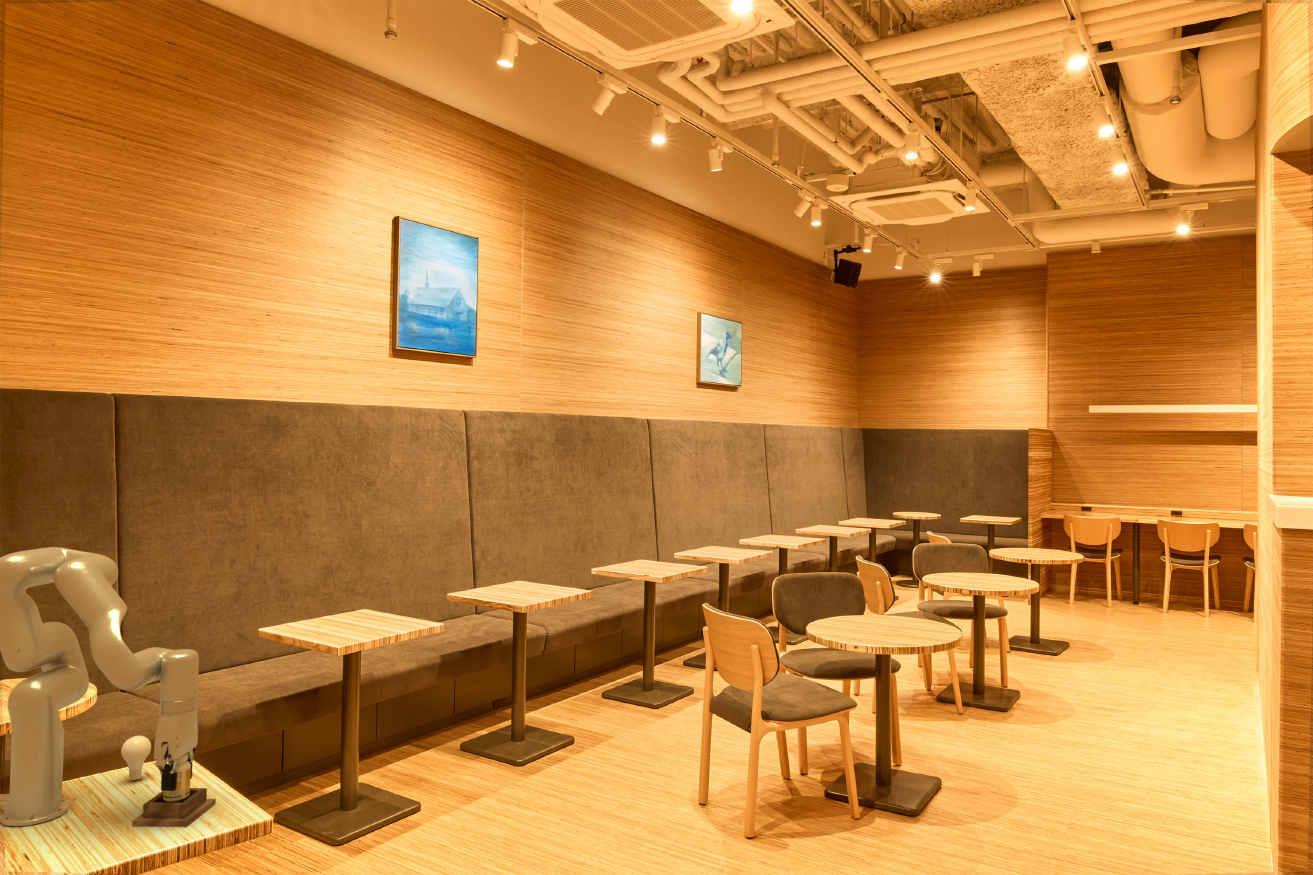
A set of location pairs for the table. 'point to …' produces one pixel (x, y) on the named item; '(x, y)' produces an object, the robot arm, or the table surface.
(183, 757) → the supplement bottle
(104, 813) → the table surface
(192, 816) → the holder
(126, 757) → the lightbulb
